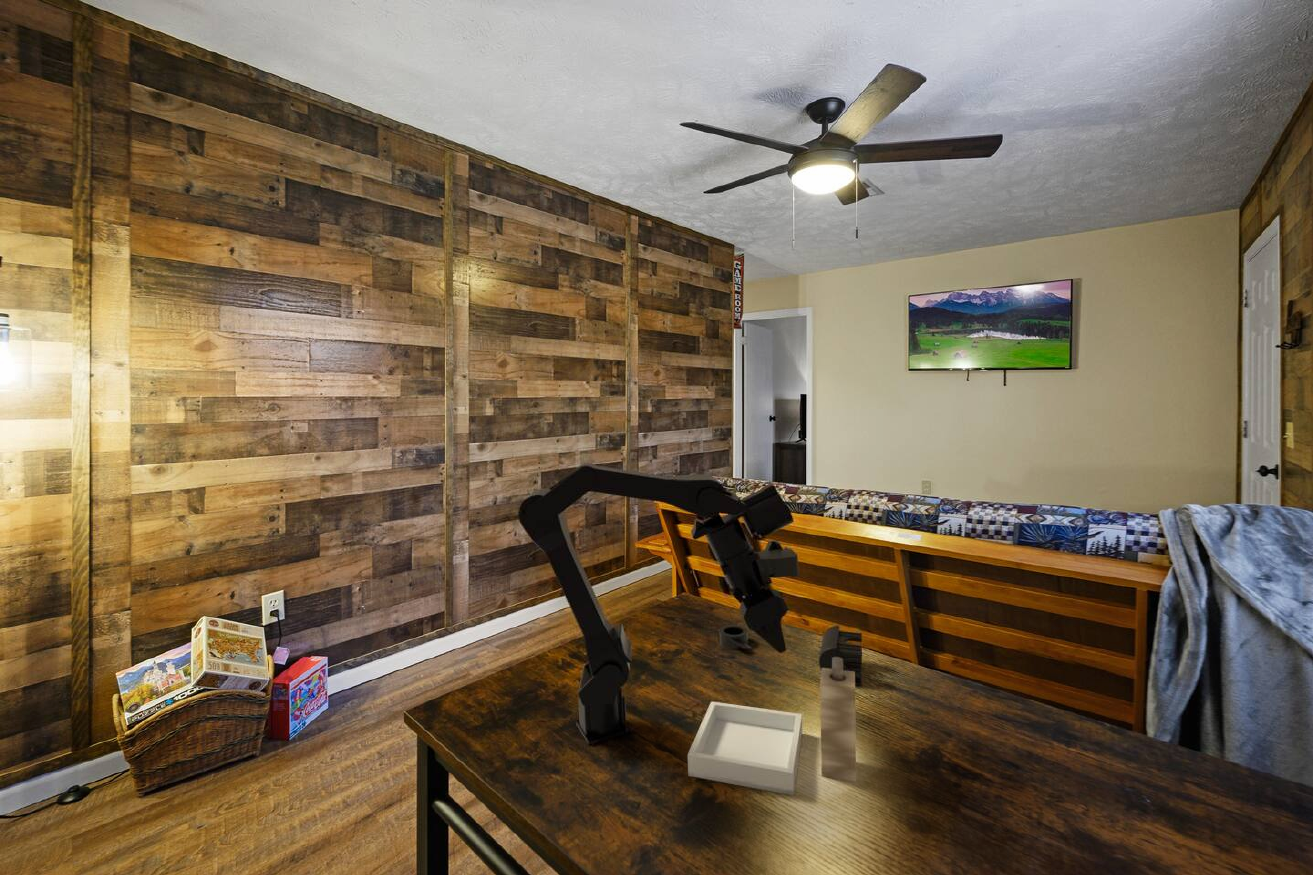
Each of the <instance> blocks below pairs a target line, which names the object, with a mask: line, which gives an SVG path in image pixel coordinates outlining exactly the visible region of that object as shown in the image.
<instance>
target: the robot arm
mask: <svg viewBox="0 0 1313 875" xmlns="http://www.w3.org/2000/svg"><path fill="white" fill-rule="evenodd" d="M591 492H593V493H597V494H599V493H600V494H606V495H611V496H619V497H625V498H631V499H632V498H633V499H638V500H645V501H651V502H652V501H653V502H658V503H659V502H660V503H663V504H667V505H669V506H672V507H675V508H677V509H679V510H682V511H684V512H686V513H690V514H693V515H696V516H698V517H702V518H707V519H704V520H701V519H698V518H694V523H693V527H692V529H691V530H690V534H691V536H692V539H693V540H696V541H697V540H699V539H700V538H702V537H704V536H705V538H706V539H707V542H708V544H709V546H710V549H711V550H712V552H713V554H714V557H715V559H716V561H717V563H718V564H719V567H720V569H721V571H722V573H723V575H724V576H723V577H724V580H725V582H726V584H727V587H728V589H729V590H730V593H732V596H733V598H734V599H735V600H736V601H737V602H738V603H739V604H740V606H739V611H740V614H741V616H742V618H743V620H744V622H745V624H746V625H747V628H748V630H750V631H752V632H754V633H755V634H756V635H758V636H759V637H760V638H761V639H762V640H764V641H765V643H767V644H768V645H769V646H771V647H772V648H773V649H774V650H775V651H777V652H778V653H779V654H782V653H784V652H786V651H787V646H786V642H785V637H784V633H783V628H782V623H781V622H782V620H783V617H786V614H787V612H788V611H789V609H788V606H787V604H786V602H785V600H784V598H783V596H782V595H781V593H780V592H779V591H778V590H777V589H773V588H772V587H771V588H770V587H768V588H766V586H769V585H770V584H772V583H773V581H772V579H773V578H775V579H776V578H783V577H790V578H796V577H799V575H800V569H799V557H798V554H797V553H796V552H795V551H794V549H792V548H788V547H787V546H785V547H784V548H783V546H782V545H781V543H780V542H779V541H778V540H769V541H767V543H766V546H765V549H762V551H759V552H758V551H756V550H755V548H754V546H753V545H751V543H750V540H749V539H748V536H747V535H746V532H745V530H744V528H743V526H742V524H741V521H740V520H739V519H742V522H743V523H744V525H745V527H746V529H747V531H748V533H749V535H750V536H753V535H756V537H759V538H761V539H762V538H764V537H766V536H768V535H771V534H772V533H775V532H776V531H778V530H781V529H783V528H784V527H787V526H789V525H791V524H793V523H794V517H793V515H792V513H791V510H790V508H789V506H788V504H786V503H785V501H784V499H783V498H782V496H781V495H780V493H779V492H778V490H777V488H776V486H775V485H774V484H773V483H768V484H766V485H764V486H762V487H761V488H760V489H759V490H757V491H755V492H752V493H750V494H748V495H747V496H744V497H742V498H740V497H739V496H738V495H737V494H736V493H735V492H734V493H732V492H730V491H728V490H726V488H725V487H724V485H723V484H722V483H721V482H720V480H718V479H717V478H716V477H714V476H713V475H710V474H707V473H706V474H703V473H702V474H701V473H700V474H681V475H680V474H679V475H662V474H661V475H659V474H654V473H648V472H641V471H632V470H628V469H627V470H626V469H621V468H620V469H619V468H614V467H608V466H601V465H596V464H594V463H591V462H584V463H582V464H579V465H578V466H577V467H576V468H575V469H574V470H573V472H570V473H569V474H567V475H566V476H565V477H564V478H562V479H561V480H559V481H558V482H556V483H554V484H553V485H552V486H551V487H549V488H539V489H536V490H534V491H533V492H532V493H531V494H529V495H528V496H527V497H526V498H525V499H524V500H523V501H522V503H521V504H520V507H519V508H518V512H517V516H518V521H519V523H520V525H521V526H522V528H523V529H524V531H525V532H526V534H527V535H528V536H529V538H530V539H531V541H532V542H533V543H534V544H535V545H536V546H537V547H538V548H539V549H540V550H541V551H542V552H543V553H544V555H545V556H546V557H547V560H548V562H549V564H550V566H551V569H552V572H553V573H554V575H555V578H556V579H557V582H558V584H559V586H560V588H561V590H562V592H563V594H564V597H565V599H566V601H567V603H568V606H569V608H570V610H571V612H572V614H573V617H574V618H575V620H576V622H577V624H578V627H579V629H580V632H581V633H582V636H583V641H584V646H585V652H586V653H585V654H586V659H587V662H586V664H584V665H583V667H582V672H581V677H580V682H579V688H578V690H577V699H578V717H579V718H578V719H577V720H576V721H575V724H576V726H577V727H578V730H579V731H580V733H581V734H582V736H583V737H584V739H585V741H586V742H587V744H589V745H593V744H596V743H600V742H602V741H605V740H608V739H611V738H615V737H618V736H622V735H624V734H627V733H628V732H629V729H628V726H627V725H626V724H625V723H626V722H627V707H626V706H627V704H626V703H627V702H626V697H625V695H624V694H623V689H622V687H623V686H625V685H626V683H627V682H628V679H630V678H629V677H630V674H631V673H630V671H631V670H630V668H631V666H630V665H631V663H632V648H633V645H632V642H631V640H630V639H628V637H627V636H626V633H625V629H624V626H623V623H622V622H619V623H618V624H616V625H615V626H614V625H613V624H612V623H611V622H610V621H609V620H608V619H607V617H606V614H605V613H604V611H603V609H602V607H601V604H600V601H599V600H598V598H597V595H596V593H595V591H594V589H593V587H592V585H591V582H590V580H589V578H588V576H587V574H586V571H585V569H584V567H583V565H582V562H581V560H580V557H579V556H578V554H577V551H576V549H575V547H574V545H573V542H572V541H571V537H570V536H571V535H570V531H569V530H570V529H569V524H568V518H567V514H566V510H567V509H569V507H571V506H572V505H573V504H574V503H576V502H577V501H578V500H579V499H581V498H582V497H584V496H585V495H586V494H587V493H591ZM721 514H723V516H721Z"/></svg>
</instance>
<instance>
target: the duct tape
mask: <svg viewBox="0 0 1313 875" xmlns="http://www.w3.org/2000/svg"><path fill="white" fill-rule="evenodd" d="M716 631H717V632H719V645H720V646H721V647H722V648H723V649H728V650H733V651H735V650H742V649H743V650H744V649H748V650H749V649H752V647H751V646H749V635H748V634H749V632H748V631H749V629H747V628H746V627H745V626H743V625H737V624H736V625H735V624H731V625H729V624H728V625H725V626H723V627H720V628H718V629H716Z"/></svg>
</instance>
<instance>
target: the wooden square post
mask: <svg viewBox="0 0 1313 875" xmlns="http://www.w3.org/2000/svg"><path fill="white" fill-rule="evenodd" d="M820 672H821V673H820V680H819V697H820V698H819V701H820V711H819V712H820V754H821V755H820V757H821V758H820V760H821V761H820V762H821V764H820V766H821V777H824V778H829V779H836V780H842V781H848V782H853V783H857V754H856V753H857V745H856V744H857V742H856V741H857V739H856V738H857V737H856V736H857V735H856V734H857V732H856V731H857V730H856V686H855V671H846V670H843V659H842V658H840V657H833V658H832V669H829V668H822V669H820Z"/></svg>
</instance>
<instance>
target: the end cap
mask: <svg viewBox="0 0 1313 875" xmlns="http://www.w3.org/2000/svg"><path fill="white" fill-rule="evenodd" d="M862 641H863V633H862V632H853V631H844V630H840V625H834V626H831V627H828V628H827V629H826V630H825V632H824V633H823V636H822V640H821V647H820V652H819V656H818V666H819V668H820V670H821V669H822V668H829V669H832V658H833V657H840V658H842V659H843V670H846V671H855V687H861V686H862V683H863V682H862V679H863V647H862V645H859V644H852V643H848V642H857V643H862Z"/></svg>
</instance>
